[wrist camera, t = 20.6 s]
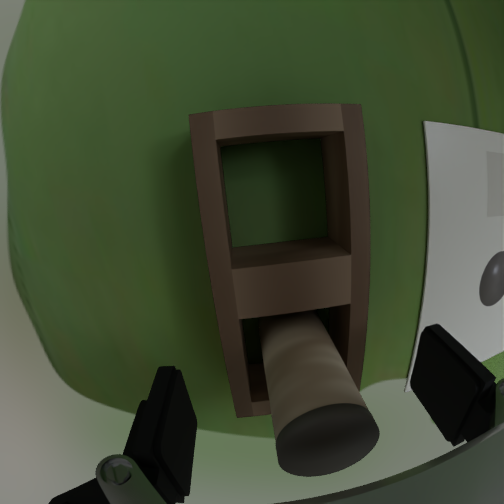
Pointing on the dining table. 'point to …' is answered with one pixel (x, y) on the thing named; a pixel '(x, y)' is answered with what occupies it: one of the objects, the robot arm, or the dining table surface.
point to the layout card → (464, 238)
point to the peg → (312, 397)
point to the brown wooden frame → (290, 252)
